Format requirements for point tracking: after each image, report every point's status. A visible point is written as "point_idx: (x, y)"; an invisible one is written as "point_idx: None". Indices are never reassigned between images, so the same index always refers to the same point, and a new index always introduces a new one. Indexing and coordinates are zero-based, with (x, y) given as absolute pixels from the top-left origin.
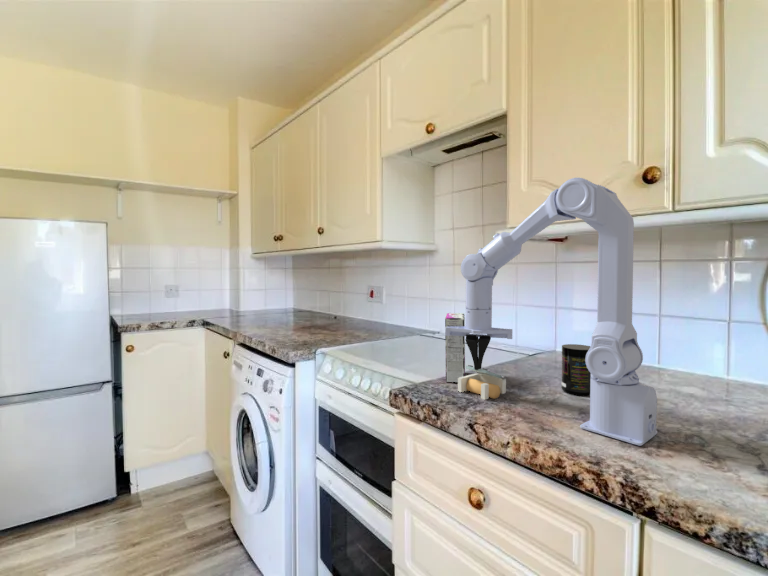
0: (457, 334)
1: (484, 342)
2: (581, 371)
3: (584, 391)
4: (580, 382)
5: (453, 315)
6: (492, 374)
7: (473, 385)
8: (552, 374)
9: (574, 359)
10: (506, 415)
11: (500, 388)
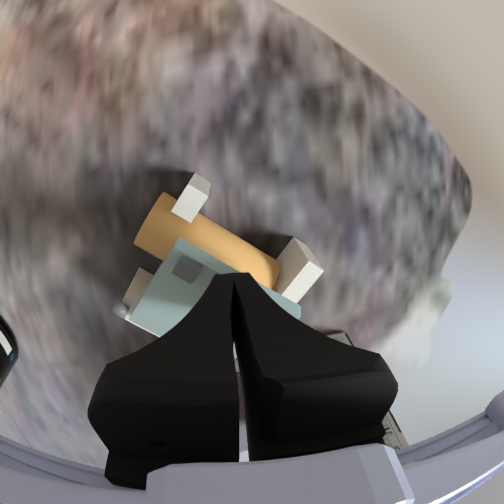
0: (449, 439)
1: (145, 373)
2: None
3: None
4: None
5: None
6: (153, 277)
7: (248, 251)
8: (79, 434)
9: None
10: (116, 36)
11: (141, 279)
